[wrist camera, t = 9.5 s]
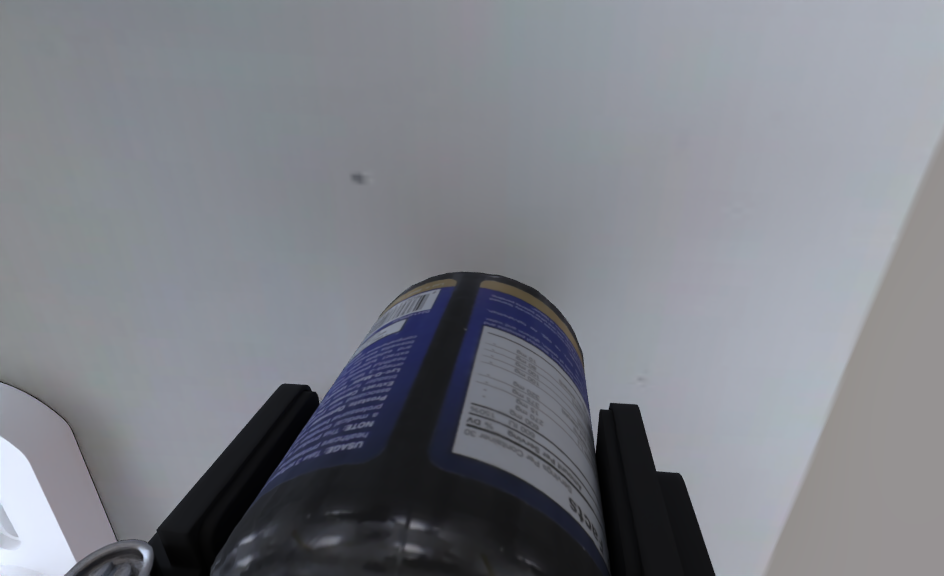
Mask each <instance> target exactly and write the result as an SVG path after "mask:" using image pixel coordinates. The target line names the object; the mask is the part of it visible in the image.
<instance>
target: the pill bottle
mask: <svg viewBox="0 0 944 576" xmlns="http://www.w3.org/2000/svg"><path fill="white" fill-rule="evenodd" d="M210 576H612V574H611V568H610V559H609V550H608V545H607V538H606V531H605V523H604V516H603V508H602V500H601V492H600V485H599V477H598V469H597V462H596V453H595V446H594V439H593V431H592V424H591V416H590V409H589V402H588V395H587V387H586V380H585V373H584V361H583V353H582V350H581V348H580V346H579V343H578V341H577V338H576V335H575V333H574V331H573V329H572V327H571V325H570V324H569V323H568V321H567V320H566V319H565V317H564V316H563V315H562V314H561V312H560V311H559V310H558V309H557V308H556V307H555V306H554V305H553V304H552V303H551V302H550V301H549V300H548V299H547V298H545V297H544V296H543V295H541V294H540V293H539V292H538V291H537V290H535V289H534V288H532V287H530V286H527V285H525V284H523V283H520V282H518V281H516V280H513V279H510V278H507V277H504V276H500V275H492V274H485V273H476V272H453V273H446V274H442V275H438V276H434V277H431V278H428V279H426V280H424V281H422V282H419V283H417V284H415V285H412V286H411V287H409V288H408V289H406V290H405V291H404V292H403V293H402V294H400V295H399V296H398V297H397V298H396V299H395V300H394V301H393V302H392V303H391V304H390V305H389V306H388V307H387V308H386V309H385V310H384V311H383V312H382V314H381V315H380V316H379V318H378V320H377V322H376V323H375V324H374V326H373V327H372V329H371V330H370V332H369V333H368V334H367V336H366V337H365V338H364V340H363V341H362V343H361V344H360V346H359V347H358V349H357V350H356V352H355V353H354V355H353V356H352V358H351V359H350V361H349V362H348V364H347V365H346V366H345V368H344V369H343V371H342V372H341V374H340V375H339V377H338V378H337V380H336V381H335V383H334V384H333V386H332V387H331V388H330V390H329V391H328V393H327V394H326V396H325V397H324V399H323V400H322V402H321V403H320V405H319V406H318V408H317V409H316V411H315V412H314V414H313V415H312V417H311V418H310V420H309V421H308V423H307V424H306V425H305V427H304V428H303V430H302V431H301V433H300V434H299V436H298V437H297V439H296V440H295V442H294V443H293V445H292V446H291V447H290V449H289V450H288V452H287V453H286V455H285V456H284V458H283V459H282V461H281V462H280V464H279V465H278V467H277V468H276V470H275V471H274V472H273V474H272V475H271V476H270V478H269V479H268V481H267V482H266V484H265V485H264V487H263V488H262V490H261V492H260V493H259V495H258V496H257V497H256V499H255V500H254V502H253V503H252V505H251V506H250V507H249V509H248V510H247V512H246V513H245V514H244V516H243V518H242V519H241V521H240V522H239V523H238V524H237V526H236V527H235V528H234V530H233V532H232V533H231V535H230V536H229V538H228V540H227V542H226V543H225V545H224V546H223V548H222V549H221V551H220V552H219V553H218V555H217V556H216V559H215V561H214V563H213V565H212V566H211V573H210Z"/></svg>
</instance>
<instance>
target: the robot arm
mask: <svg viewBox="0 0 944 576" xmlns="http://www.w3.org/2000/svg"><path fill="white" fill-rule="evenodd" d="M319 405H320V404H319V399H318V395H317V393H316V392H312V391H311V388H310V387H309V386H308V385H299V384H282V385H281V386H280V387H278V389H277V390H276V391H275V392H274V393H273V394H272V396H271V397H270V398H269V399H268V400H267V401H266V403H265V404H264V405H263V406H262V407H261V408H260V410H259V411H258V412H257V413H256V414H255V415H254V417H253V418H252V419H251V420H250V421H249V422H248V424H247V425H246V426H245V427H244V428H243V429H242V431H241V432H240V433H239V434H238V435H237V436H236V438H235V439H234V440H233V441H232V442H231V443H230V445H229V446H228V447H227V448H226V449H225V450H224V452H223V453H222V454H221V455H220V456H219V457H218V459H217V460H216V461H215V462H214V463H213V464H212V466H211V467H210V468H209V469H208V470H207V471H206V473H205V474H204V475H203V476H202V477H201V478H200V480H199V481H198V482H197V483H196V484H195V485H194V487H193V488H192V489H191V490H190V491H189V492H188V494H187V495H186V496H185V497H184V498H183V499H182V501H181V502H180V503H179V504H178V505H177V506H176V508H175V509H174V510H173V511H172V512H171V513H170V515H169V516H168V517H167V518H166V519H165V520H164V522H163V523H162V524H161V525H160V526H159V527H158V529H157V533H156V534H155V535H154V536H153V537H152V538H151V540H150V541H149V542H148V543H147V542H145V541H142V540H137V539H130V540H121V541H118V542H115V543H112V544H109V545H106V546H104V547H102V548H100V549H98V550H96V551H94V552H92V553H90V554H89V555H88V556H86V557H85V558H83V559H82V560H81V561H79V562H78V563H76V564H75V565H74V566H73V567H72V568H71V569H70V570H69V571H68V572H67V573H66V574H65V575H64V576H210V573H211V566H212V565H213V563H214V561H215V559H216V556H217V555H218V553H219V552H220V551H221V549H222V548H223V546H224V545H225V543H226V542H227V540H228V538H229V536H230V535H231V533H232V532H233V530H234V528H235V527H236V526H237V524H238V523H239V522H240V521H241V519H242V518H243V516H244V514H245V513H246V512H247V510H248V509H249V507H250V506H251V505H252V503H253V502H254V500H255V499H256V497H257V496H258V495H259V493H260V492H261V490H262V488H263V487H264V485H265V484H266V482H267V481H268V479H269V478H270V476H271V475H272V474H273V472H274V471H275V470H276V468H277V467H278V465H279V464H280V462H281V461H282V459H283V458H284V456H285V455H286V453H287V452H288V450H289V449H290V447H291V446H292V445H293V443H294V442H295V440H296V439H297V437H298V436H299V434H300V433H301V431H302V430H303V428H304V427H305V425H306V424H307V423H308V421H309V420H310V418H311V417H312V415H313V414H314V412H315V411H316V409H317V408H318V406H319ZM596 462H597V469H598V477H599V485H600V492H601V500H602V508H603V516H604V523H605V531H606V538H607V545H608V550H609V559H610V568H611V574H612V576H715V573H714V570H713V567H712V564H711V561H710V558H709V555H708V552H707V549H706V545H705V542H704V539H703V536H702V533H701V530H700V527H699V524H698V521H697V518H696V515H695V512H694V509H693V506H692V503H691V500H690V497H689V494H688V491H687V488H686V485H685V482H684V480H683V478H682V476H681V475H680V474H679V473H671V472H658V471H656V469H655V465H654V461H653V458H652V454H651V450H650V447H649V443H648V439H647V435H646V432H645V428H644V424H643V421H642V417H641V413H640V410H639V407H638V405H635V404H618V403H610V406H609V410H602V409H601V410H600V412H599V422H598V434H597V445H596Z"/></svg>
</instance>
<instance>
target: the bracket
mask: <svg viewBox="0 0 944 576" xmlns="http://www.w3.org/2000/svg"><path fill="white" fill-rule="evenodd" d="M115 542H117V540H116V538H115V535H114V533H113V530H112V528H111V525H110V523H109V521H108V518H107V516H106V513H105V511H104V508H103V506H102V504H101V501H100V499H99V496H98V494H97V491H96V489H95V486H94V484H93V482H92V479H91V477H90V474H89V472H88V469H87V467H86V464H85V462H84V460H83V457H82V455H81V452H80V450H79V447H78V445H77V442H76V440H75V438H74V435H73V433H72V430H71V428H70V427H69V425H68V424H67V423H66V422H65V420H64V419H62V418H61V417H60V416H59V415H58V414H57V413H55V412H54V411H53V410H51V409H50V408H49V407H47V406H46V405H45V404H43V403H42V402H40V401H38V400H37V399H35V398H34V397H32V396H30V395H28V394H27V393H25V392H23V391H21V390H18V389H16V388H14V387H12V386H9V385H7V384H4V383H1V382H0V576H64V575H65V574H66V573H67V572H68V571H69V570H70V569H71V568H72V567H73V566H74V565H75V564H76V563H78V562H79V561H81V560H82V559H83V558H85V557H86V556H88V555H89V554H90V553H92V552H94V551H96V550H98V549H100V548H102V547H104V546H106V545H109V544H112V543H115Z"/></svg>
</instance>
